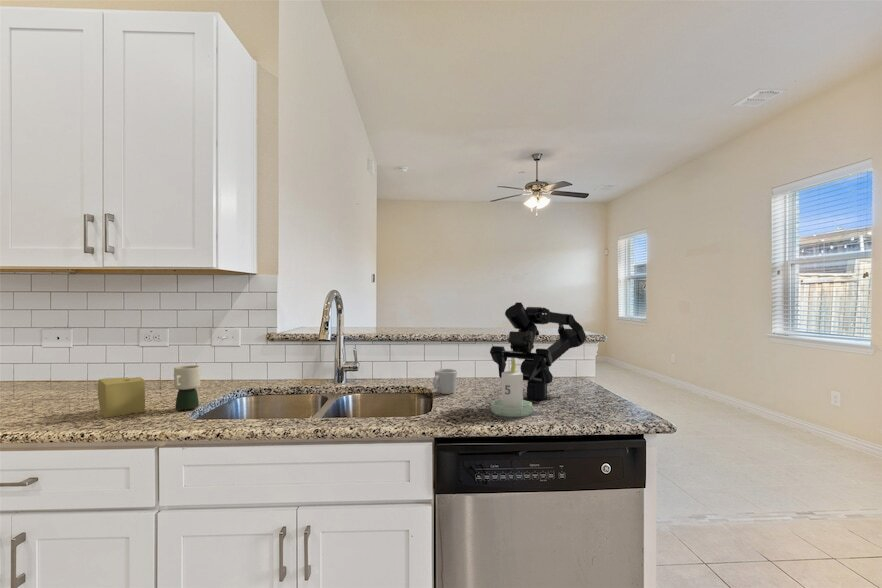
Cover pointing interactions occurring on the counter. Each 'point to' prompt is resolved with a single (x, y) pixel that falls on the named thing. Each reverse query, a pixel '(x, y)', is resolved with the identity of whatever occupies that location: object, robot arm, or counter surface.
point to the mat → (512, 417)
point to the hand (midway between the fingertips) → (514, 378)
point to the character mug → (187, 386)
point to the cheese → (121, 396)
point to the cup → (445, 380)
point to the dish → (511, 409)
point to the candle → (512, 388)
